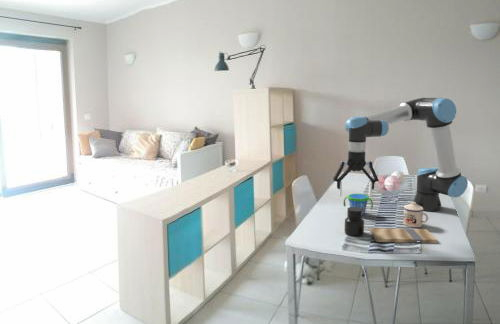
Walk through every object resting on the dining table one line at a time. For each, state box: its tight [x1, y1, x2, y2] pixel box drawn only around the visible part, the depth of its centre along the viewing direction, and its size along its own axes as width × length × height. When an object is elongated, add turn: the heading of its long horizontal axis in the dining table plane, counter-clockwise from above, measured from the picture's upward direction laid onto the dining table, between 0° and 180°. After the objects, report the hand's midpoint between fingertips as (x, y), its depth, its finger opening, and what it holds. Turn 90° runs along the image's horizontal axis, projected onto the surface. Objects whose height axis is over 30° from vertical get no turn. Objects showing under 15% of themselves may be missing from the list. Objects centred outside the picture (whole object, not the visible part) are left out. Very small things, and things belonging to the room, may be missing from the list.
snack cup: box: [343, 193, 374, 216], centre depth 203 cm, size 16×10×10 cm
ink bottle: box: [344, 206, 365, 237], centre depth 175 cm, size 10×9×12 cm
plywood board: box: [369, 227, 438, 244], centre depth 171 cm, size 26×13×2 cm, turn 84°
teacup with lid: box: [402, 201, 429, 228], centre depth 184 cm, size 12×9×12 cm
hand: (355, 195), depth 173 cm, fingers open, 13 cm apart
